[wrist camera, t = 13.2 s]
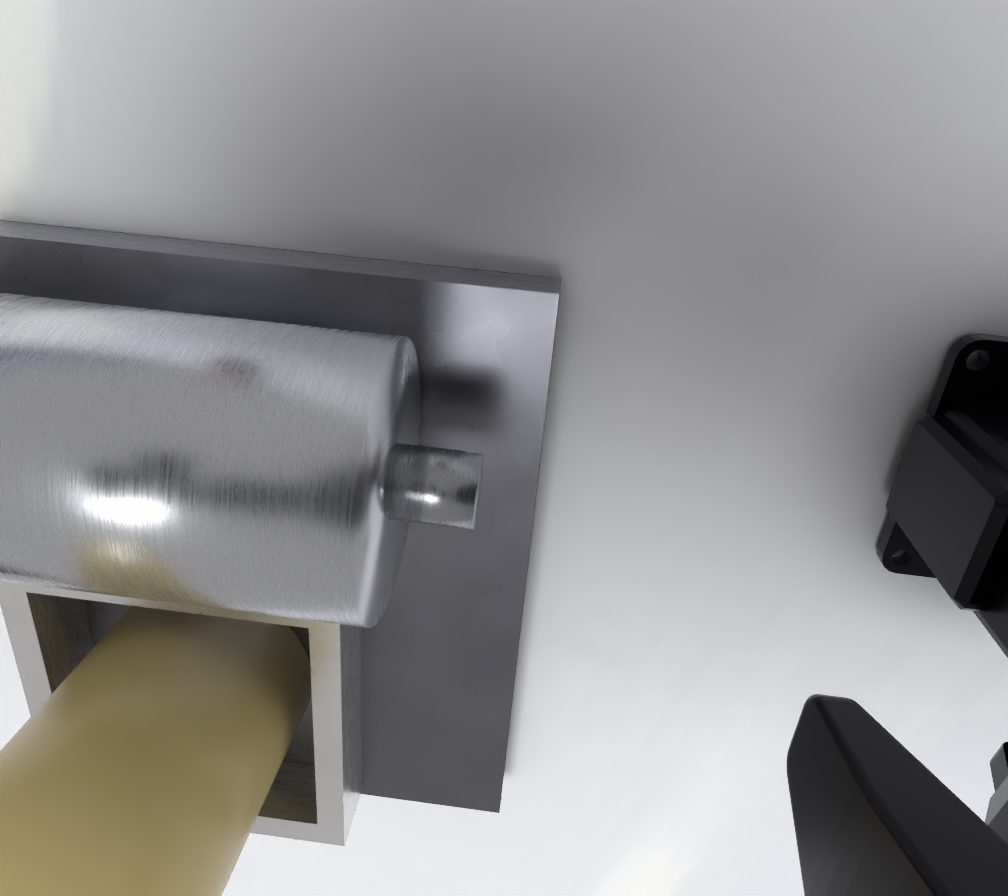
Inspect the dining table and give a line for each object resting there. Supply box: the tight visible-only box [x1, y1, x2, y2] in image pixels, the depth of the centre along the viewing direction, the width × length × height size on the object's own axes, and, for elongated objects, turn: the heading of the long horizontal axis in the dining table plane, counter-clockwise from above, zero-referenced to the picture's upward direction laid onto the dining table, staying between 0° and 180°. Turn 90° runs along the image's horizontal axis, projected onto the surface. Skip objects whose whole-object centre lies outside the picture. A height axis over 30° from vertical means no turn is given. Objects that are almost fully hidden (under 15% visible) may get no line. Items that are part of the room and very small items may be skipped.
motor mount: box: [0, 220, 561, 846], centre depth 19 cm, size 14×17×8 cm
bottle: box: [0, 606, 312, 896], centre depth 16 cm, size 6×6×14 cm
